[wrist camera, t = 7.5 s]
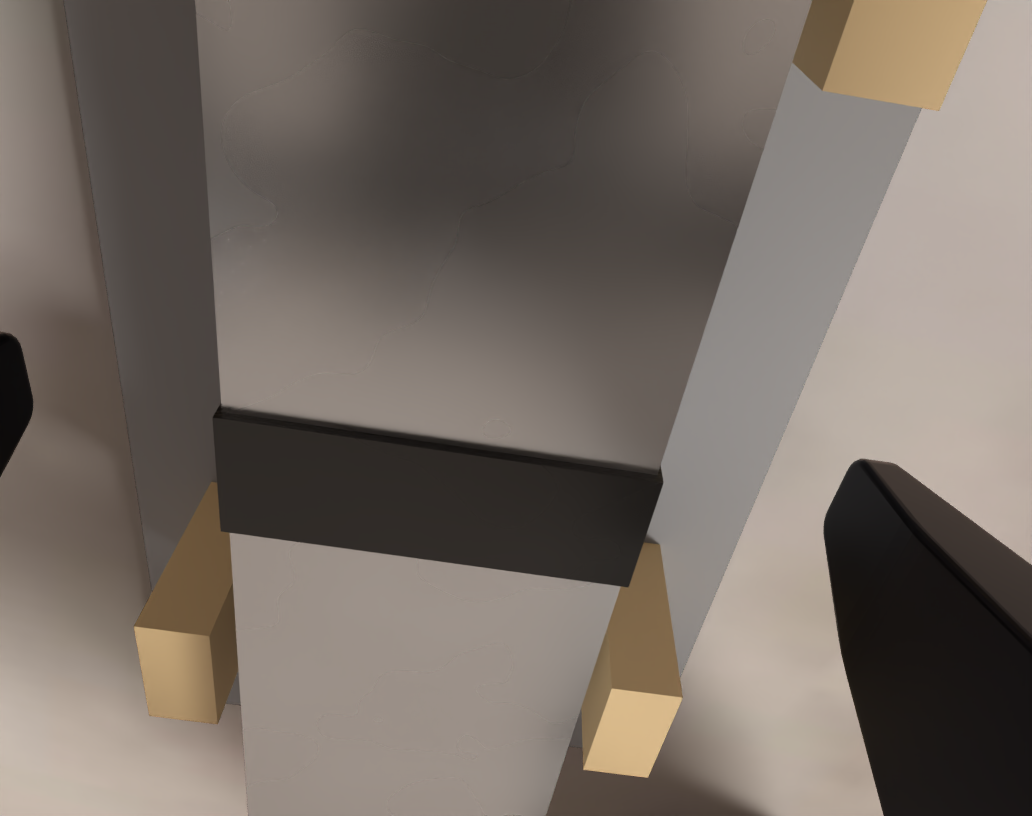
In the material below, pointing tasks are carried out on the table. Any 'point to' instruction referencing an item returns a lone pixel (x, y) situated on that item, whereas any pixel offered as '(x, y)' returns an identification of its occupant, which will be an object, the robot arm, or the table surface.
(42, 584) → the table surface
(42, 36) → the table surface
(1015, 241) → the table surface
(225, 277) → the air duct
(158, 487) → the plate
